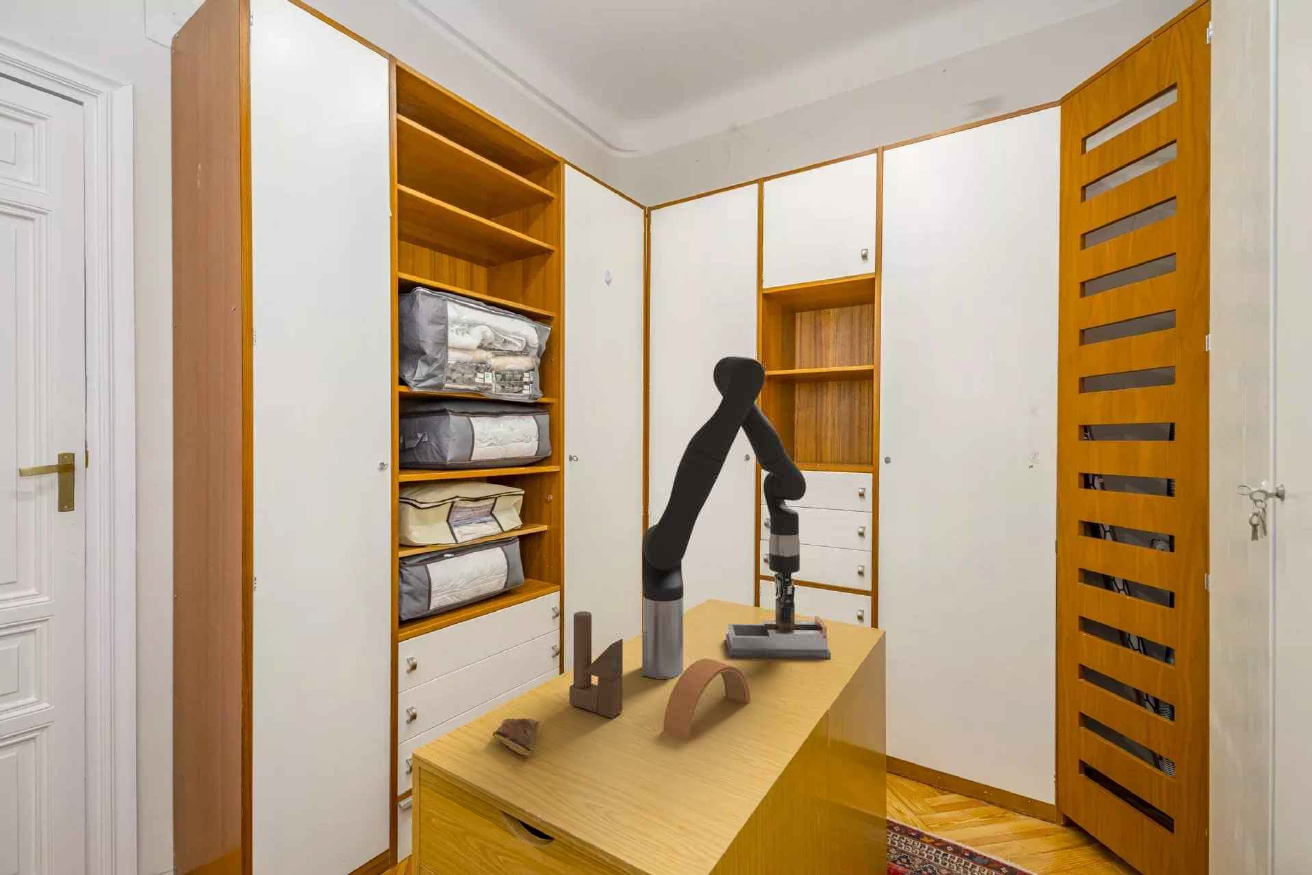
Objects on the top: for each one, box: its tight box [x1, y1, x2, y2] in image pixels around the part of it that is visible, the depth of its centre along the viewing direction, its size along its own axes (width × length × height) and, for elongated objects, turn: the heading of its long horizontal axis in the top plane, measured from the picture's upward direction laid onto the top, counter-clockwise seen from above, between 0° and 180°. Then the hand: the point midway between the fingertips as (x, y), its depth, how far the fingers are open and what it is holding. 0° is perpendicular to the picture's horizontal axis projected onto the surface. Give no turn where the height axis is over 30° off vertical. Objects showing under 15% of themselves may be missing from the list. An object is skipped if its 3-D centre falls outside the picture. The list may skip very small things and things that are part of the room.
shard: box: [492, 718, 540, 758], centre depth 100 cm, size 11×8×2 cm
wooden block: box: [568, 610, 624, 719], centre depth 114 cm, size 4×11×18 cm, turn 57°
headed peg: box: [774, 597, 796, 630], centre depth 145 cm, size 6×6×10 cm
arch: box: [663, 658, 751, 743], centre depth 111 cm, size 6×20×10 cm, turn 137°
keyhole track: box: [725, 615, 832, 660], centre depth 145 cm, size 24×12×7 cm, turn 88°
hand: (784, 619), depth 145 cm, fingers closed on headed peg, 4 cm apart
